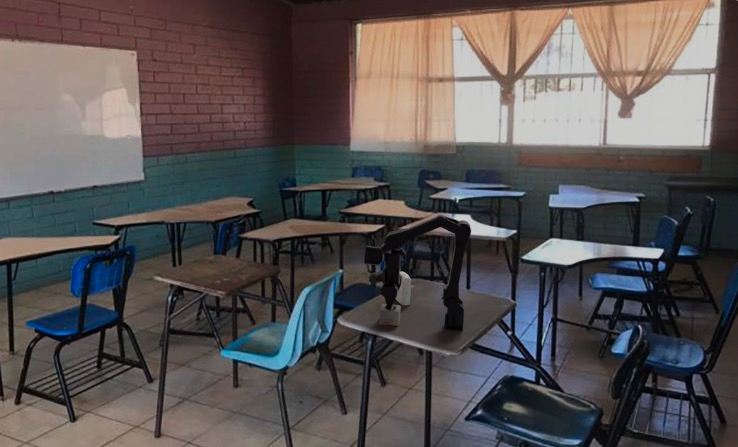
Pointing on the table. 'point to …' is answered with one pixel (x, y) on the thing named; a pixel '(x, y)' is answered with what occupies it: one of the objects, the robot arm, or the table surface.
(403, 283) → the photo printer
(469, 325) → the table surface
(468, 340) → the table surface
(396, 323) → the tan knobbed plate
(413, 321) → the table surface
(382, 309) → the hollow square frame
